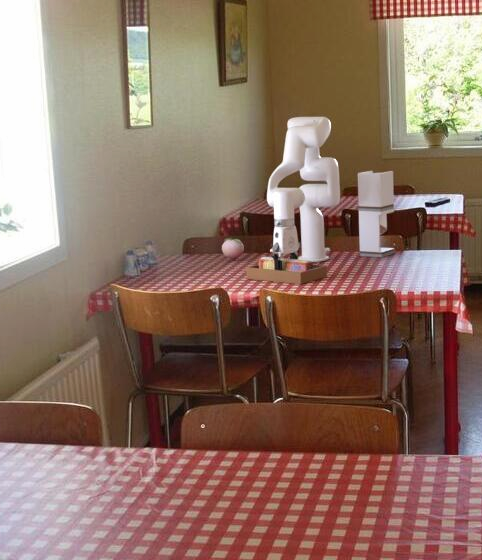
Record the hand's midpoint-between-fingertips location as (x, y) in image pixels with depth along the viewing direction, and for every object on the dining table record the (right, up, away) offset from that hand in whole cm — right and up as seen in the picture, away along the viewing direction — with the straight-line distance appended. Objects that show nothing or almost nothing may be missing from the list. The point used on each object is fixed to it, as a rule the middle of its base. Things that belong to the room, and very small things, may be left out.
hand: (286, 268), depth 375 cm
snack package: (0, -3, +1) cm, 3 cm away
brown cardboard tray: (0, -3, +1) cm, 4 cm away
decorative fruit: (-25, +4, +43) cm, 50 cm away
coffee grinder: (+36, +6, +48) cm, 60 cm away
